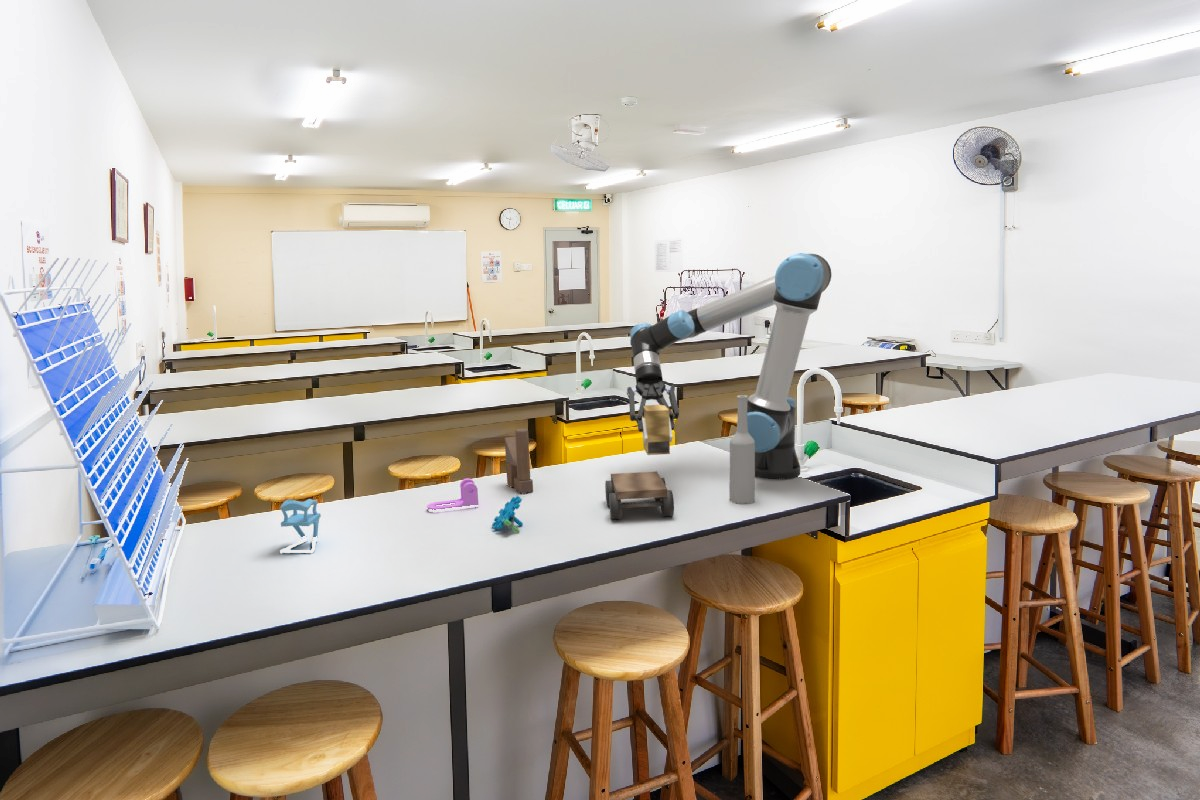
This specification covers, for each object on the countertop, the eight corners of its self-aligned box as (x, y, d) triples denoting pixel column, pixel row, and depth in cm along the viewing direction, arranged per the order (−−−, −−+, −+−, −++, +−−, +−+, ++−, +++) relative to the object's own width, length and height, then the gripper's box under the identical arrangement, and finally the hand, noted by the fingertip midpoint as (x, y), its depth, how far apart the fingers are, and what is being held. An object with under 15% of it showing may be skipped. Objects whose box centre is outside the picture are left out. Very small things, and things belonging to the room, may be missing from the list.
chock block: (664, 446, 205) (664, 404, 203) (669, 454, 197) (669, 410, 195) (643, 447, 205) (642, 405, 203) (647, 455, 197) (646, 411, 195)
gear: (491, 514, 184) (518, 487, 182) (509, 528, 186) (535, 501, 184) (487, 536, 174) (516, 507, 172) (506, 550, 175) (535, 522, 173)
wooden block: (518, 483, 216) (515, 423, 213) (533, 492, 207) (530, 429, 204) (506, 485, 214) (503, 424, 211) (521, 494, 205) (518, 431, 202)
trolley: (662, 497, 198) (662, 470, 197) (674, 519, 181) (673, 489, 180) (605, 500, 197) (604, 473, 196) (612, 522, 180) (611, 493, 179)
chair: (327, 540, 174) (322, 491, 172) (312, 553, 166) (307, 502, 164) (295, 541, 175) (290, 492, 173) (279, 554, 167) (273, 503, 165)
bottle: (724, 498, 196) (724, 395, 191) (744, 494, 199) (744, 392, 194) (739, 505, 190) (740, 399, 185) (760, 501, 193) (760, 396, 188)
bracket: (475, 502, 200) (473, 477, 199) (478, 508, 195) (477, 482, 194) (426, 508, 196) (424, 483, 195) (428, 514, 191) (426, 489, 190)
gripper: (679, 377, 214) (691, 445, 201) (614, 380, 212) (622, 449, 199) (682, 361, 207) (695, 430, 194) (615, 364, 206) (623, 434, 193)
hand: (658, 440), depth 197 cm, fingers closed on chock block, 6 cm apart
